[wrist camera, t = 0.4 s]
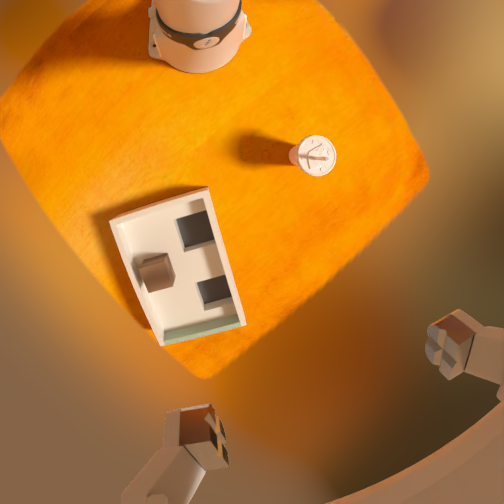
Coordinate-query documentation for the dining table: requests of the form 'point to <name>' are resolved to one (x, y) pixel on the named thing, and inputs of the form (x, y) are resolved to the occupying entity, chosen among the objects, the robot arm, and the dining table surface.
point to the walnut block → (157, 273)
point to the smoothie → (313, 155)
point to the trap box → (181, 266)
